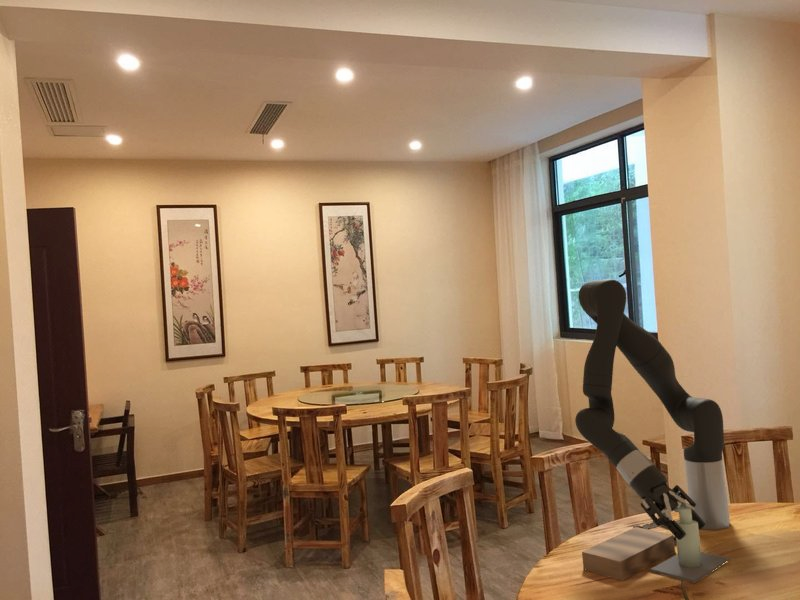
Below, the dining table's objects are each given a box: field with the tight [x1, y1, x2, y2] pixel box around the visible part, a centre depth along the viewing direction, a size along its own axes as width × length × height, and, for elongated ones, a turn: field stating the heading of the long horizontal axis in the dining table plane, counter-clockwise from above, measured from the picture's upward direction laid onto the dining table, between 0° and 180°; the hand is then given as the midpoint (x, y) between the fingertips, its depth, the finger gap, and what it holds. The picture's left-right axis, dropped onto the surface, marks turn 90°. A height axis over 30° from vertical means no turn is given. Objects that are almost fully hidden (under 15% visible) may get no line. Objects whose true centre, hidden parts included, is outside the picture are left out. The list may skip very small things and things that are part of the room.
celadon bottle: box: [675, 507, 702, 567], centre depth 145 cm, size 5×5×12 cm
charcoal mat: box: [650, 551, 731, 584], centre depth 145 cm, size 16×10×1 cm, turn 128°
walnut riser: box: [581, 527, 676, 581], centre depth 151 cm, size 22×10×4 cm, turn 128°
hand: (692, 532), depth 144 cm, fingers open, 8 cm apart
